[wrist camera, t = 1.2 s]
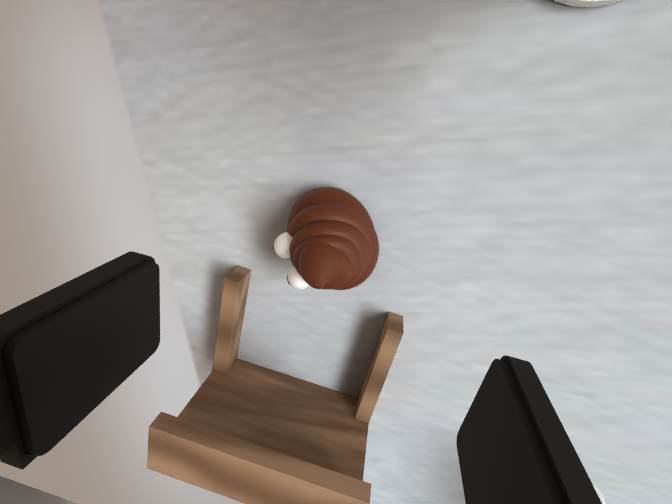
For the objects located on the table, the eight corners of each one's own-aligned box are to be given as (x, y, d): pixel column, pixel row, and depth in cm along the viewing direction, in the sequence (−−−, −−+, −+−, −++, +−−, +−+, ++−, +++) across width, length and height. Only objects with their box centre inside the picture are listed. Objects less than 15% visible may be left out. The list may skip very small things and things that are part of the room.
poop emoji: (392, 270, 34) (389, 320, 25) (313, 292, 36) (286, 345, 27) (357, 172, 31) (341, 190, 22) (275, 202, 33) (231, 230, 25)
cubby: (237, 265, 36) (153, 340, 24) (402, 316, 35) (405, 422, 22) (223, 364, 41) (147, 468, 29) (367, 411, 40) (352, 541, 27)
